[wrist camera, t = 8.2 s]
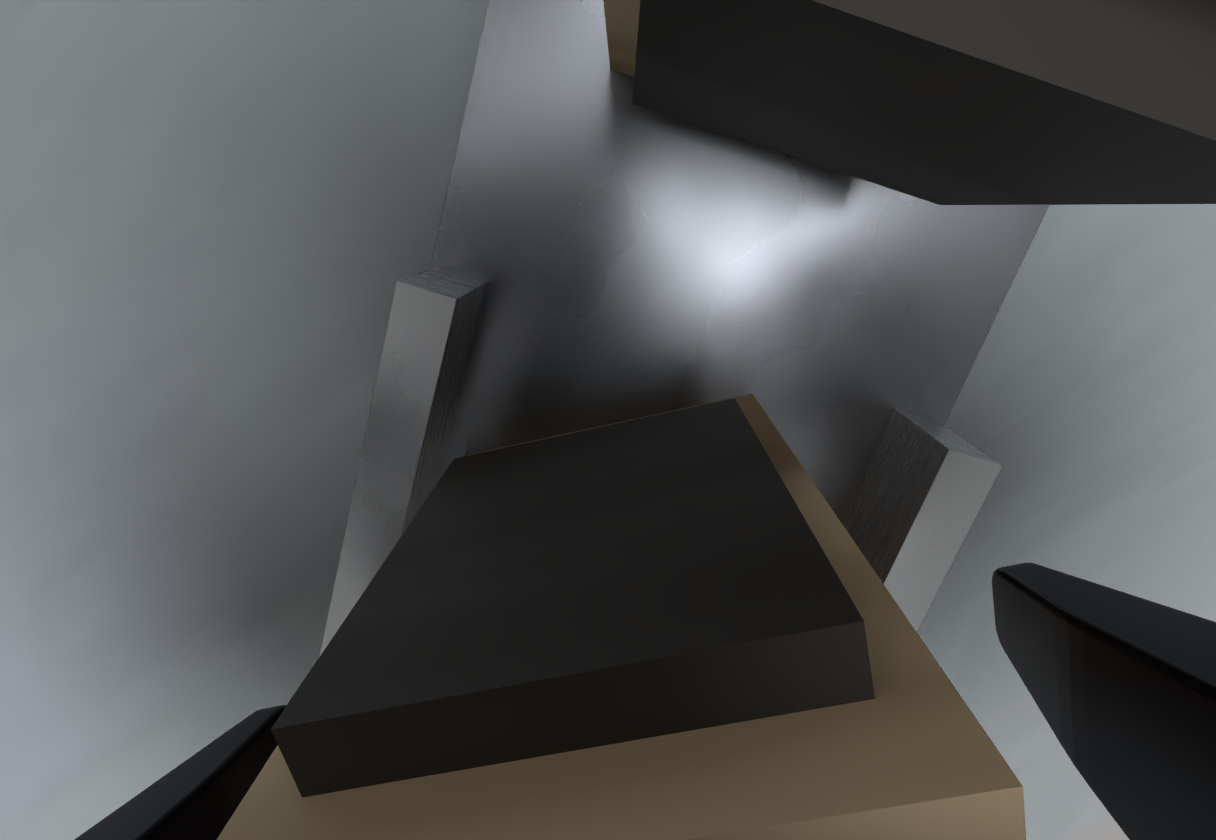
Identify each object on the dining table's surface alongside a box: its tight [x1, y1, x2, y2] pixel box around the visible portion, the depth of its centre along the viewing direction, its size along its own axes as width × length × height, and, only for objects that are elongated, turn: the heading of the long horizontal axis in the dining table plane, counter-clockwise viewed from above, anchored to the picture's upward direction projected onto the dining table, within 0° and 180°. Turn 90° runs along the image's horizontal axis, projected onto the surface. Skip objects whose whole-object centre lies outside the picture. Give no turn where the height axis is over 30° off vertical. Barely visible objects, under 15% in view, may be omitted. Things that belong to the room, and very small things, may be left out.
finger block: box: [217, 394, 1026, 840], centre depth 8 cm, size 5×5×8 cm
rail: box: [319, 0, 1049, 657], centre depth 10 cm, size 18×9×4 cm, turn 163°
